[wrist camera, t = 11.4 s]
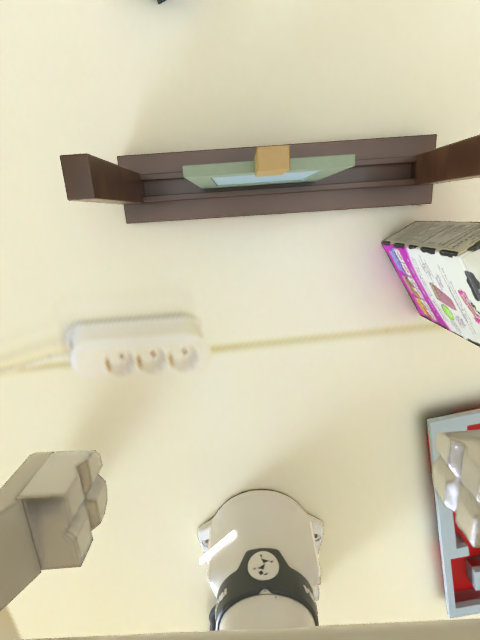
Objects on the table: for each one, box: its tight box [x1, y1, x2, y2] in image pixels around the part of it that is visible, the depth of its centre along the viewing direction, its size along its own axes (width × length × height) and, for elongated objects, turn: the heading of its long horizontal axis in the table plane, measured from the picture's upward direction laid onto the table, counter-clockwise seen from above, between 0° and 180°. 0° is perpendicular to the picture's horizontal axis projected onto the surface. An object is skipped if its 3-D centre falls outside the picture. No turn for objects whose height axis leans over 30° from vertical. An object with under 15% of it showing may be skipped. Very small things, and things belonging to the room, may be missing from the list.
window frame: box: [60, 134, 480, 224], centre depth 34 cm, size 7×34×17 cm, turn 94°
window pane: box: [182, 145, 355, 189], centre depth 31 cm, size 1×12×18 cm, turn 94°
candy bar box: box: [381, 221, 480, 347], centre depth 37 cm, size 11×5×16 cm, turn 34°
